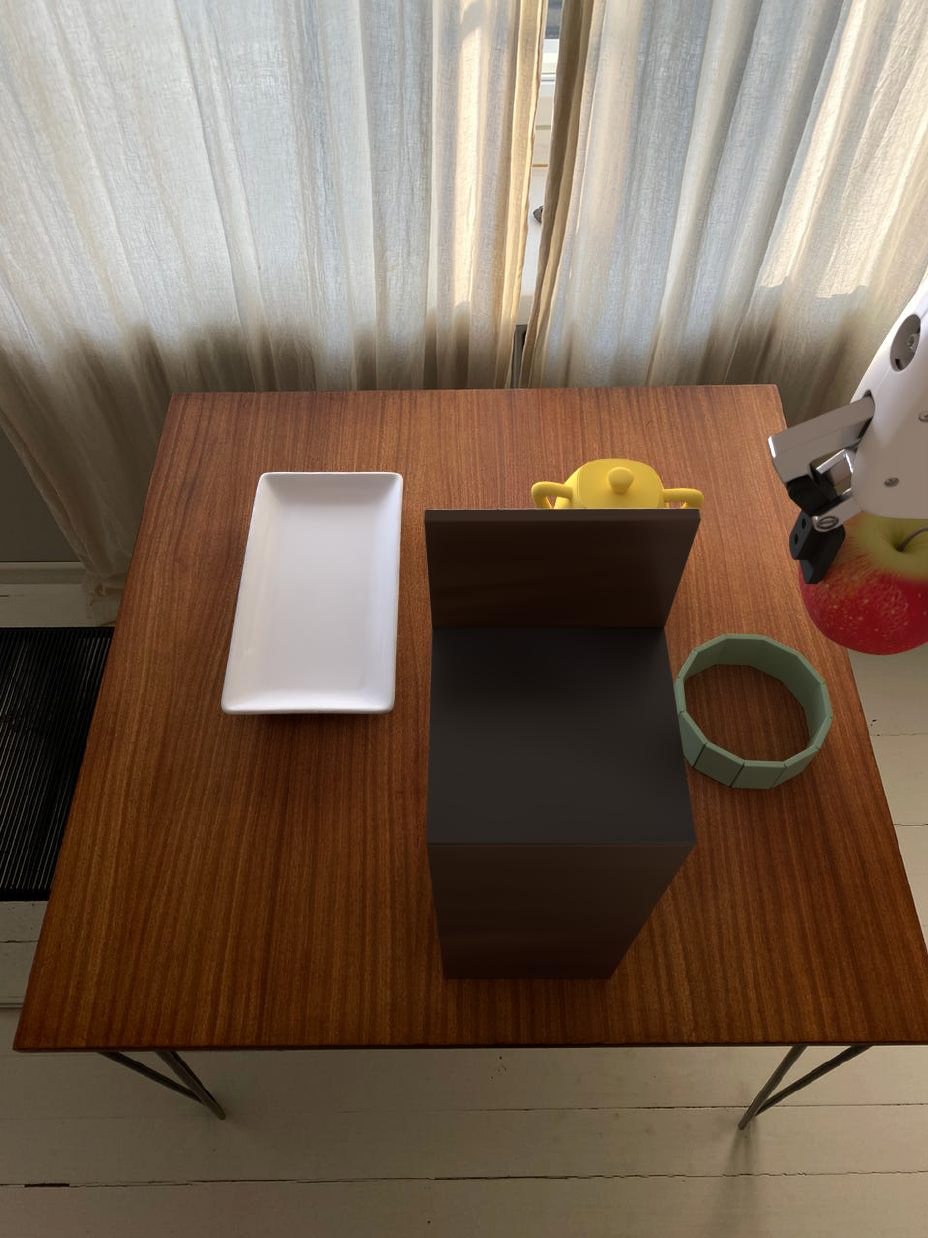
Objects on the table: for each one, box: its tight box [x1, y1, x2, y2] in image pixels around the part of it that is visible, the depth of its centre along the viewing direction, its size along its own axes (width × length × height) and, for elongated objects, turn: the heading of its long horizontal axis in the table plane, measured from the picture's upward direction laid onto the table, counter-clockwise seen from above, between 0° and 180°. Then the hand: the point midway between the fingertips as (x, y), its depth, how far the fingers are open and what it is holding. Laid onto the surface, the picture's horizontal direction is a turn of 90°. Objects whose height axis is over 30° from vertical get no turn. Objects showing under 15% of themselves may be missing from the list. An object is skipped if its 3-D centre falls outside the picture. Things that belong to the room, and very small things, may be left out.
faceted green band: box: [673, 633, 834, 790], centre depth 84 cm, size 14×14×5 cm
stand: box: [423, 507, 702, 980], centre depth 59 cm, size 14×14×44 cm
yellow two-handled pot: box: [530, 458, 705, 510], centre depth 94 cm, size 14×14×12 cm
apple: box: [797, 511, 928, 656], centre depth 45 cm, size 8×8×10 cm
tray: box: [220, 471, 404, 715], centre depth 94 cm, size 17×32×4 cm, turn 0°
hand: (892, 561), depth 44 cm, fingers closed on apple, 8 cm apart
